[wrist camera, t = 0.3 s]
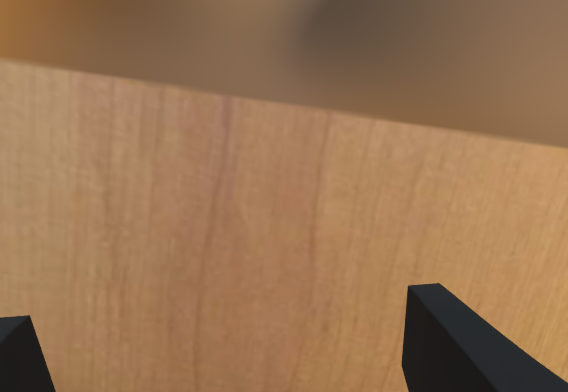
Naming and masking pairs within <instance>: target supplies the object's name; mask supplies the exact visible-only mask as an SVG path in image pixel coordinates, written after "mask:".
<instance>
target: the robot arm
mask: <svg viewBox="0 0 568 392" xmlns="http://www.w3.org/2000/svg"><path fill="white" fill-rule="evenodd" d="M402 368H403V372H404V376H405V379H406V383H407V387H408V390H409V392H568V383H567V382H566V381H564V380H563V379H561V378H560V377H558V376H557V375H556V374H554V373H553V372H551V371H550V370H549V369H547V368H546V367H545V366H543V365H542V364H540V363H539V362H538V361H536V360H535V359H534V358H532V357H531V356H530V355H528V354H527V353H526V352H524V351H523V350H522V349H520V348H519V347H518V346H517V345H515V344H514V343H513V342H511V341H510V340H509V339H508V338H506V337H505V336H504V335H503V334H501V333H500V332H499V331H498V330H496V329H495V328H494V327H492V326H491V325H490V324H489V323H488V322H486V321H485V320H484V319H483V318H481V317H480V316H479V315H478V314H476V313H475V312H474V311H473V310H472V309H470V308H469V307H468V306H467V305H465V304H464V303H463V302H462V301H461V300H459V299H458V298H457V297H456V296H455V295H453V294H452V293H451V292H450V291H448V290H447V289H446V288H445V287H443V286H442V285H441V284H439V283H436V284H423V285H410V286H408V292H407V305H406V317H405V329H404V342H403V354H402ZM0 392H56V391H55V388H54V385H53V382H52V380H51V377H50V374H49V371H48V368H47V365H46V362H45V359H44V356H43V353H42V350H41V347H40V344H39V341H38V338H37V335H36V332H35V329H34V327H33V324H32V321H31V318H30V315H29V316H16V317H3V318H0Z"/></svg>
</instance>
